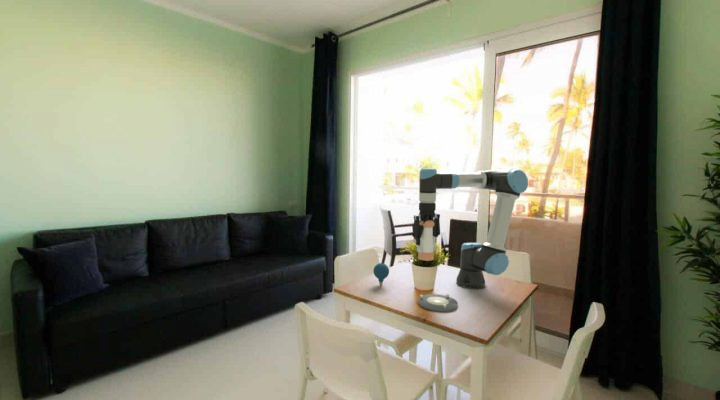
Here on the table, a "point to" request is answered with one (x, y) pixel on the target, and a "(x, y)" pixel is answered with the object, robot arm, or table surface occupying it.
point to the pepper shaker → (427, 241)
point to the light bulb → (381, 272)
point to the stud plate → (437, 302)
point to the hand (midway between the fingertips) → (426, 251)
